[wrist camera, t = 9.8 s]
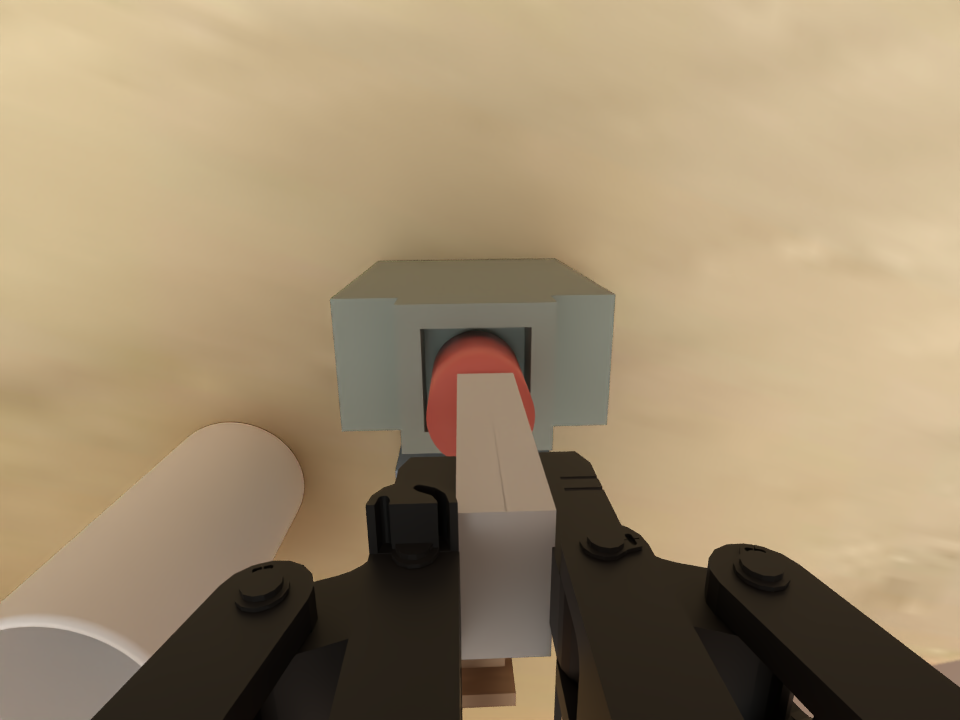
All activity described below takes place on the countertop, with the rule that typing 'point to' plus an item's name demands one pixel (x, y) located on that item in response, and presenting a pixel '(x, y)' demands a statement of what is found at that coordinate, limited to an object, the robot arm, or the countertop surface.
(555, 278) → the grey upright block
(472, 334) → the plunger
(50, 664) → the cup
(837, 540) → the countertop surface
